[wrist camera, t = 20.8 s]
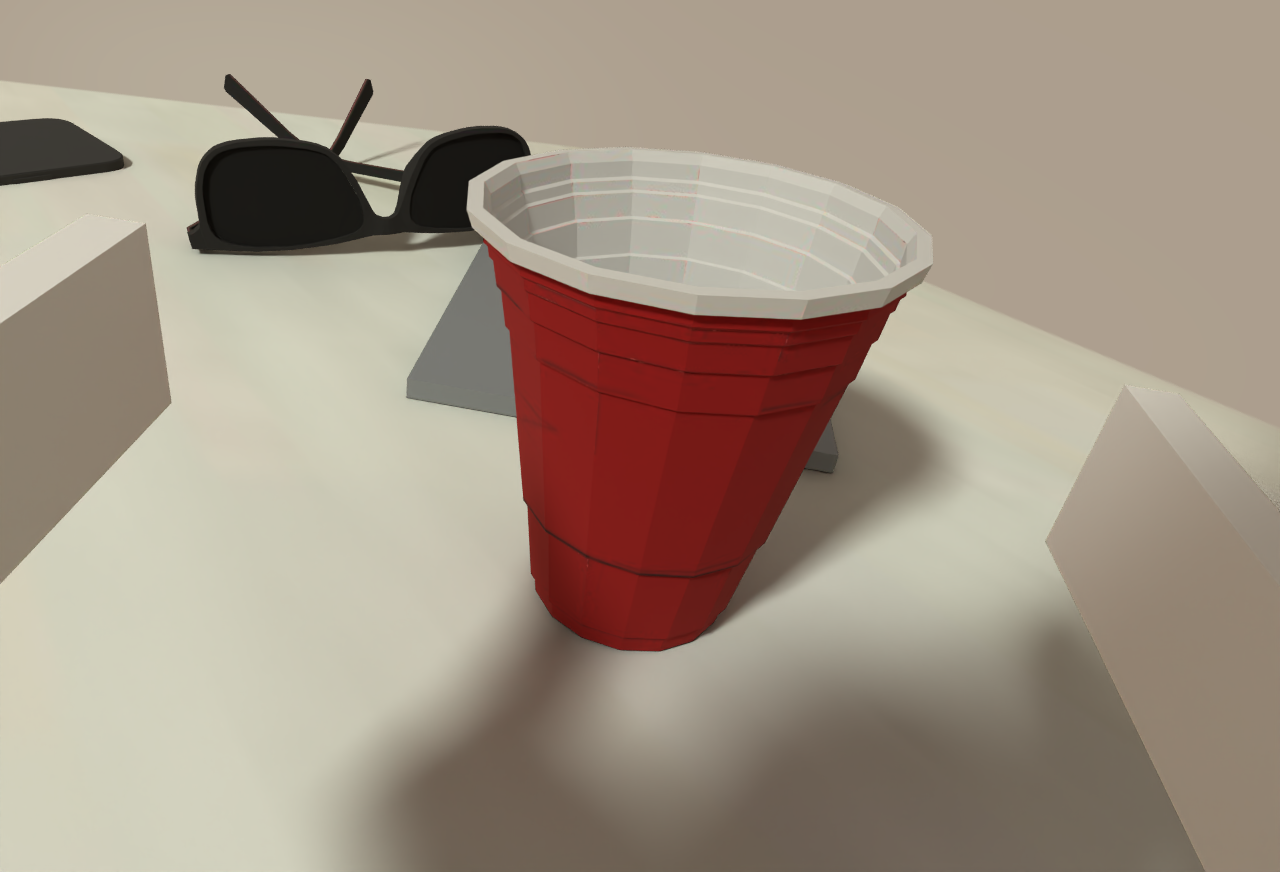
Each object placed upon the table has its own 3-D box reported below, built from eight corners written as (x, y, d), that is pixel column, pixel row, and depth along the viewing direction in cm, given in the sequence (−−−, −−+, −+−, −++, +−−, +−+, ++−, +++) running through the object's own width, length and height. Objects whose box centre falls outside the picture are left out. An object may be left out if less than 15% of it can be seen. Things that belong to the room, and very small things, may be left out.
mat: (790, 268, 52) (793, 255, 51) (832, 473, 35) (838, 455, 34) (504, 215, 51) (506, 201, 51) (406, 397, 34) (407, 378, 34)
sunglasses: (452, 149, 58) (452, 64, 55) (552, 229, 48) (557, 130, 45) (153, 165, 50) (135, 67, 47) (196, 265, 40) (176, 147, 37)
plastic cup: (558, 436, 34) (608, 97, 27) (840, 558, 31) (972, 207, 24) (353, 605, 25) (357, 168, 19) (717, 799, 22) (871, 352, 16)
